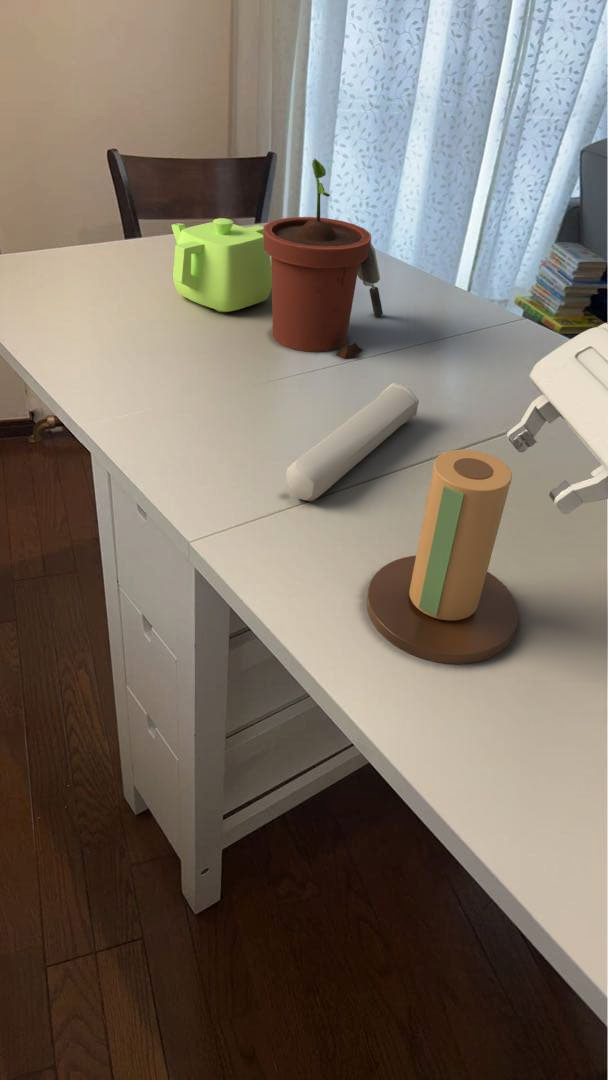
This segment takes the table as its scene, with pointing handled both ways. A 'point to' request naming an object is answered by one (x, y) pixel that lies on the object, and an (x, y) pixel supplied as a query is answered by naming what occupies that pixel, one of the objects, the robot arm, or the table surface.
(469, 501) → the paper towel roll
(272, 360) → the table surface
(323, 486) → the tube
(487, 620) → the disc
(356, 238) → the potted plant
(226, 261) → the teapot
